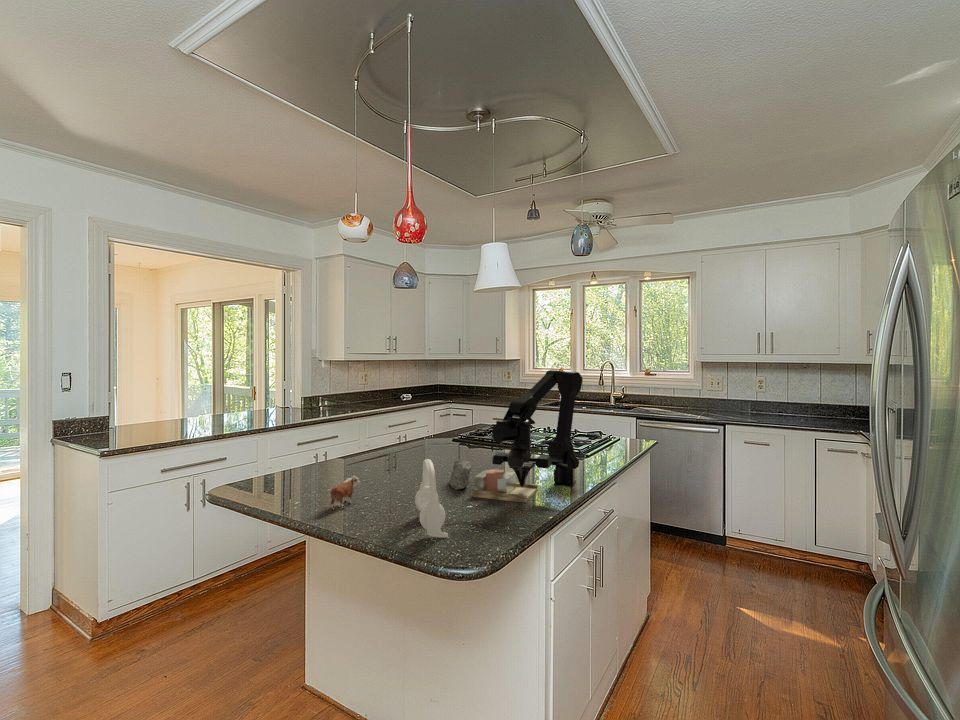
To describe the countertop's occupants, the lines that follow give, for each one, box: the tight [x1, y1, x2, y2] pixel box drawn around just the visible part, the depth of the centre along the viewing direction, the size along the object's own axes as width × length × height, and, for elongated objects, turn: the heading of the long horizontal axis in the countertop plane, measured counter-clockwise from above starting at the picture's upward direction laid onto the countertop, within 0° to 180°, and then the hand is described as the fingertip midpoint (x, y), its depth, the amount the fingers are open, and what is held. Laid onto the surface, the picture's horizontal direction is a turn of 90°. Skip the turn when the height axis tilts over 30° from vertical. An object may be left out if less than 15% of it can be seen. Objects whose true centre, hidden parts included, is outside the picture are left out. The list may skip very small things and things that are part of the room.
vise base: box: [471, 469, 539, 503], centre depth 165 cm, size 18×14×6 cm
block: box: [486, 468, 506, 492], centre depth 166 cm, size 5×5×6 cm
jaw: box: [498, 471, 517, 493], centre depth 165 cm, size 3×10×5 cm, turn 159°
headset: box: [414, 458, 449, 539], centre depth 136 cm, size 20×7×18 cm, turn 12°
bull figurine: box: [330, 475, 361, 508], centre depth 155 cm, size 4×13×8 cm, turn 161°
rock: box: [449, 459, 472, 491], centre depth 175 cm, size 15×8×10 cm, turn 178°
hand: (522, 486), depth 163 cm, fingers closed
